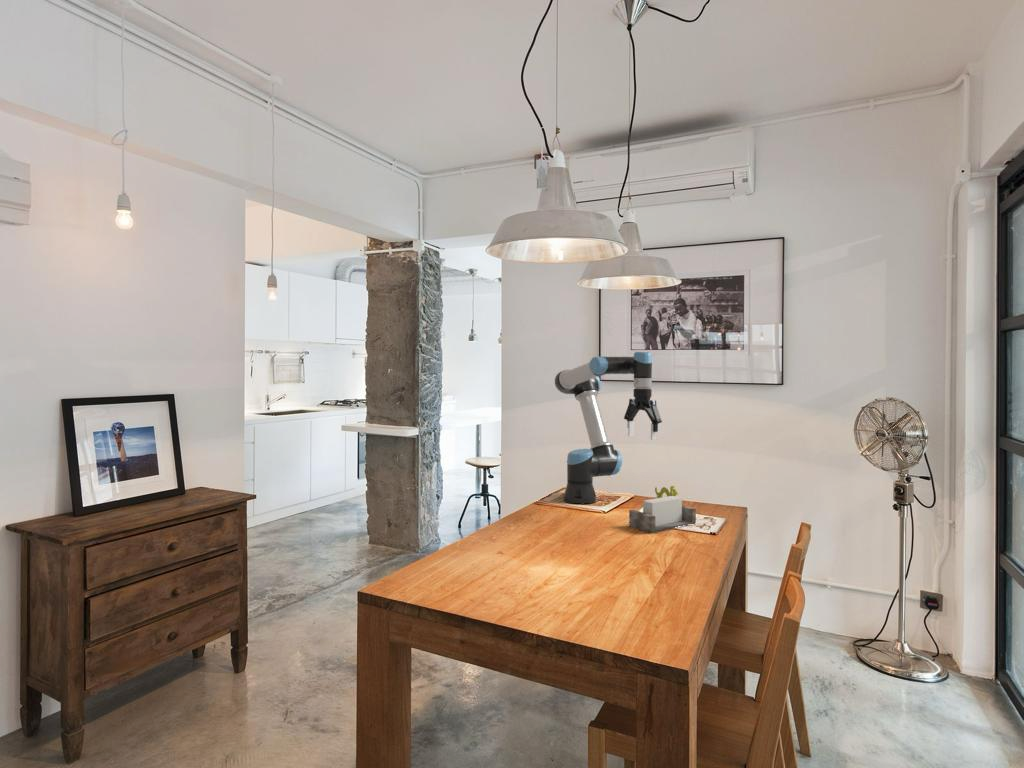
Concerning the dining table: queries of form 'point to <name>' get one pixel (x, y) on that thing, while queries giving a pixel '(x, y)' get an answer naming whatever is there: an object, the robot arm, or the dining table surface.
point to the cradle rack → (648, 525)
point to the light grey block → (664, 509)
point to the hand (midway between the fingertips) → (642, 437)
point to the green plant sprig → (671, 493)
